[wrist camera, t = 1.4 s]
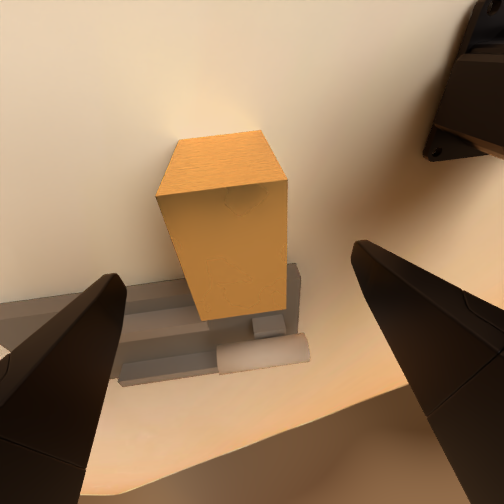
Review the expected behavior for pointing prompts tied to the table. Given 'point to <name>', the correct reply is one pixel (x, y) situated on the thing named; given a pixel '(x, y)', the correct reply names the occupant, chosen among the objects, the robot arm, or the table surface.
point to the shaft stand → (178, 333)
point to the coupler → (228, 223)
